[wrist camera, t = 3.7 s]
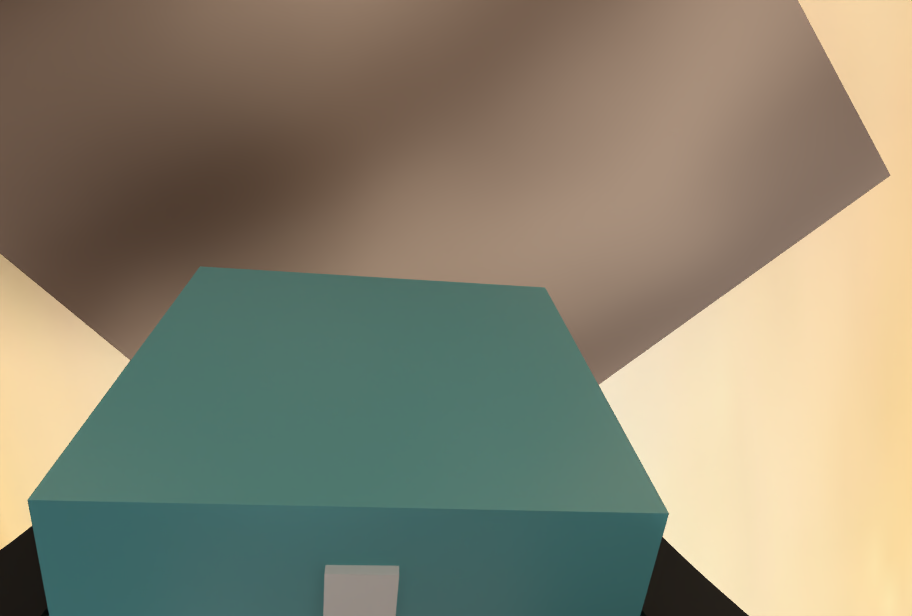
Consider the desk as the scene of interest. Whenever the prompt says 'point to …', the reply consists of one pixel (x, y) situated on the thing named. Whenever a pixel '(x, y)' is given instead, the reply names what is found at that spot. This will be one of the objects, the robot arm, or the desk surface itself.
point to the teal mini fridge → (350, 461)
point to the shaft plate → (420, 150)
